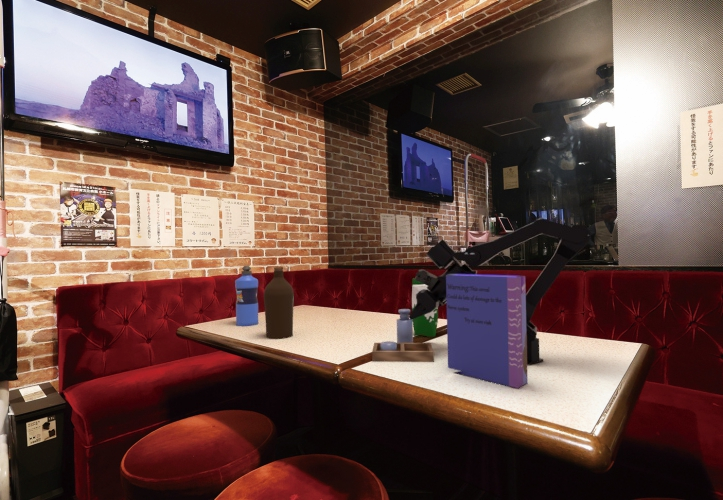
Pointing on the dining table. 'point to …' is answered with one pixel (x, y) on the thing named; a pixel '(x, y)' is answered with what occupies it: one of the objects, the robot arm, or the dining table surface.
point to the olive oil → (279, 306)
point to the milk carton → (425, 322)
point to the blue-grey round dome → (388, 346)
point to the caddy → (404, 353)
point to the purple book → (487, 327)
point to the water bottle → (246, 299)
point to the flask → (404, 327)
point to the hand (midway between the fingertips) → (414, 315)
